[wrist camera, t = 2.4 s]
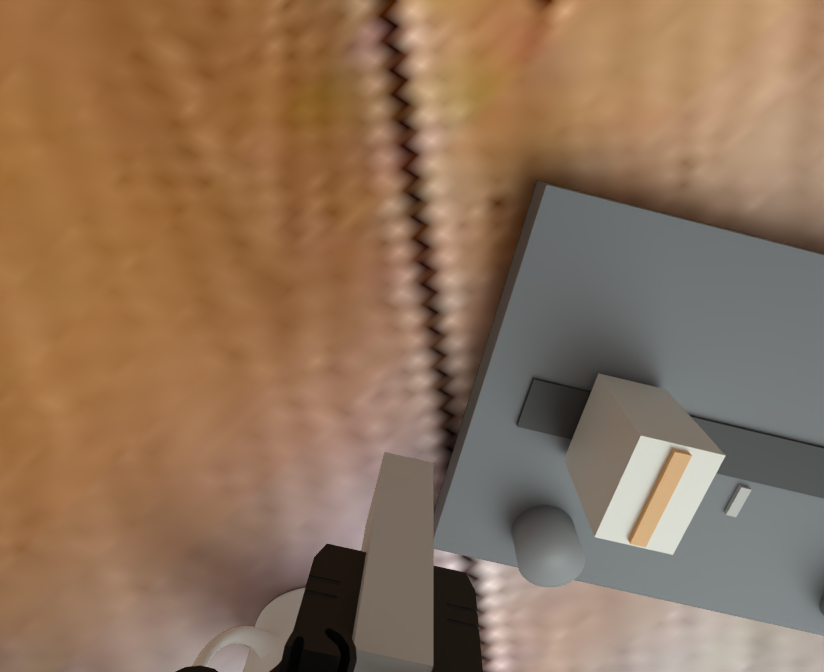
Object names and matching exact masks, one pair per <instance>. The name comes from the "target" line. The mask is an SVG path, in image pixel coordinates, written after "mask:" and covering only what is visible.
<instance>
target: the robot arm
mask: <svg viewBox="0 0 824 672" xmlns="http://www.w3.org/2000/svg"><path fill="white" fill-rule="evenodd" d="M433 523H434V463H431V462H426V461H422V460H417V459H413V458H409V457H404V456H400V455H395V454H391V453H387V452H385V453H384V456H383V460H382V464H381V468H380V472H379V476H378V480H377V484H376V488H375V491H374V495H373V499H372V503H371V507H370V511H369V515H368V519H367V523H366V527H365V533H364V538H363V544H362V550H361V551H358V550H353V549H349V548H344V547H340V546H335V545H331V544H326V545H325V546H324V547H323V549H322V550H321V551H320V552H319V553H318V554H317V555H316V556H315V557H314V560H313V564H312V567H311V571H310V574H309V578H308V581H307V584H306V588H305V592H304V595H303V598H302V602H301V605H300V609H299V612H298V615H297V619H296V622H295V626H294V629H293V632H292V633H291V635H290V636H289V638H288V640H287V642H286V644H285V646H284V651H283V656H282V660H281V661H280V663H279V664H278V665H277V666H276V667H274V668H273V669H272V670H271V671H269V672H483V669H482V658H481V648H480V637H479V629H478V615H477V605H476V594H475V590H474V588H473V586H472V584H471V582H470V580H469V578H468V576H467V574H466V573H464V572H460V571H455V570H451V569H446V568H442V567H437V566H433ZM176 672H218V671H216V670H215V669H213V668H209V667H205V666H201V665H200V666H192V667H185V668H182V669H180V670H178V671H176Z"/></svg>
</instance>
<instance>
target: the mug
mask: <svg viewBox="0 0 824 672" xmlns="http://www.w3.org/2000/svg"><path fill="white" fill-rule="evenodd" d="M304 592H305V588H300V589H296V590H293V591H290V592H287V593H285V594H283V595H281V596H279V597H277V598H276V599H274V600H273V601H271V602H270V603H269V604H268V605H267V606H266V607H265V608H264V609H263V611H262V612H261V614H260V615H259V617H258V619H257V621H256V624H255V627H254V626H238V627H234V628H231V629H229V630H226V631H224V632H223V633H221V634H219V635H218V636H216V637H215V638H214V639H213V640H211V641H210V642H209V643H208V644H207V645H206V646H205V648H204V649H203V650H202V651H201V653H200V654H199V655H198V657H197V658H196V660H195V662H194V664H193V665H192V666H200V665H201V666H205V667H207V665H208V663H209V662H210V660H211V658H212V657H213V656H214V655H215V653H216V652H217V651H218V650H220V649H221V648H222V647H224V646H226V645H229V644H243V645H246V646H249V647H250V648H251V649H250V652H249V655H248V658H247V661H246V664H245V667H244V670H243V672H269V671H271V670H272V669H273V668H274V667H276V666H277V665H278V664H279V663H280V661H281V660H282V656H283V651H284V646H285V644H286V642H287V640H288V638H289V636H290V635H291V633H292V632H293V629H294V626H295V622H296V619H297V615H298V612H299V609H300V605H301V602H302V598H303V595H304Z"/></svg>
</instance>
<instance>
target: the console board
mask: <svg viewBox="0 0 824 672" xmlns="http://www.w3.org/2000/svg"><path fill="white" fill-rule="evenodd" d="M598 373H600V374H604V375H608V376H612V377H616V378H620V379H625V380H629V381H633V382H637V383H641V384H645V385H650V386H654V387H658V388H662V389H666V390H667V391H668V392H669V393H670V394H671V395H672V397H673V398H674V399H675V400H676V401H677V402H678V403H679V404H680V405H681V407H682V408H683V409H684V410H685V411H686V412H687V413H688V414H689V415H690V417H691V418H692V419H693V420H694V421H695V422H696V423H697V424H698V425H699V426H700V428H701V429H702V430H703V431H704V432H705V433H706V434H707V435H708V436H709V438H710V439H711V440H712V441H713V442H714V443H715V444H716V445H717V446H718V448H719V449H720V450H721V451H722V452H723V453H724V454H725V455H726V456H725V458H724V460H723V462H722V463H721V465H720V467H719V469H718V471H717V473H716V475H715V477H714V478H713V480H712V482H711V484H710V486H709V488H708V490H707V492H706V494H705V495H704V497H703V499H702V501H701V503H700V505H699V507H698V509H697V510H696V512H695V514H694V516H693V518H692V520H691V522H690V524H689V526H688V527H687V529H686V531H685V533H684V535H683V537H682V539H681V541H680V542H679V544H678V546H677V548H676V550H675V552H674V554H673V555H671V554H667V553H662V552H658V551H653V550H649V549H645V548H640V547H636V546H631V545H627V544H623V543H618V542H614V541H609V540H605V539H601V538H596V537H594V535H593V532H592V529H591V527H590V524H589V522H588V519H587V517H586V514H585V512H584V509H583V506H582V504H581V501H580V499H579V496H578V494H577V491H576V489H575V486H574V483H573V481H572V478H571V476H570V473H569V471H568V468H567V466H566V463H565V460H564V458H565V455H566V453H567V450H568V448H569V445H570V443H571V440H572V438H573V435H574V433H575V430H576V428H577V426H578V423H579V421H580V418H581V416H582V413H583V411H584V408H585V406H586V403H587V401H588V398H589V396H590V393H591V391H592V388H593V386H594V383H595V381H596V378H597V376H598ZM433 549H437V550H442V551H446V552H451V553H455V554H460V555H464V556H469V557H473V558H478V559H482V560H487V561H491V562H496V563H500V564H505V565H509V566H514V567H518V568H519V571H520V573H521V574H522V576H523V577H524V578H525V579H526V580H528V581H529V582H531V583H533V584H535V585H538V586H542V587H558V586H562V585H565V584H567V583H569V582H571V581H573V580H576V581H581V582H585V583H590V584H594V585H599V586H603V587H608V588H612V589H617V590H621V591H626V592H630V593H635V594H639V595H644V596H648V597H653V598H657V599H662V600H666V601H671V602H675V603H680V604H684V605H689V606H693V607H698V608H702V609H706V610H711V611H715V612H720V613H724V614H729V615H733V616H738V617H742V618H747V619H751V620H756V621H760V622H765V623H769V624H774V625H778V626H783V627H787V628H792V629H796V630H801V631H805V632H810V633H814V634H819V635H823V636H824V253H820V252H816V251H812V250H808V249H804V248H800V247H796V246H793V245H789V244H785V243H781V242H777V241H773V240H769V239H765V238H761V237H757V236H753V235H749V234H745V233H741V232H738V231H734V230H730V229H726V228H722V227H718V226H714V225H710V224H706V223H702V222H698V221H694V220H690V219H686V218H682V217H679V216H675V215H671V214H667V213H663V212H659V211H655V210H651V209H647V208H643V207H639V206H635V205H631V204H627V203H624V202H620V201H616V200H612V199H608V198H604V197H600V196H596V195H592V194H588V193H584V192H580V191H576V190H572V189H568V188H565V187H561V186H557V185H553V184H549V183H545V182H541V181H537V183H536V186H535V190H534V193H533V196H532V199H531V202H530V206H529V209H528V212H527V215H526V218H525V222H524V225H523V228H522V231H521V234H520V238H519V241H518V244H517V247H516V251H515V254H514V257H513V260H512V263H511V267H510V270H509V273H508V276H507V279H506V283H505V286H504V289H503V292H502V295H501V299H500V302H499V305H498V308H497V311H496V315H495V318H494V321H493V324H492V327H491V331H490V334H489V337H488V340H487V343H486V347H485V350H484V353H483V356H482V359H481V363H480V366H479V369H478V372H477V375H476V379H475V382H474V385H473V388H472V392H471V395H470V398H469V401H468V404H467V408H466V411H465V414H464V417H463V420H462V424H461V427H460V430H459V433H458V436H457V440H456V443H455V446H454V449H453V452H452V456H451V459H450V462H449V465H448V468H447V472H446V475H445V478H444V481H443V484H442V488H441V491H440V494H439V497H438V500H437V504H436V507H435V510H434V523H433Z"/></svg>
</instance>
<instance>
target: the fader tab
mask: <svg viewBox="0 0 824 672" xmlns="http://www.w3.org/2000/svg"><path fill="white" fill-rule="evenodd" d="M725 456H726V455H725V454H724V453H723V452H722V451H721V450H720V449H719V448H718V446H717V445H716V444H715V443H714V442H713V441H712V440H711V439H710V438H709V436H708V435H707V434H706V433H705V432H704V431H703V430H702V429H701V428H700V426H699V425H698V424H697V423H696V422H695V421H694V420H693V419H692V418H691V417H690V415H689V414H688V413H687V412H686V411H685V410H684V409H683V408H682V407H681V405H680V404H679V403H678V402H677V401H676V400H675V399H674V398H673V397H672V395H671V394H670V393H669V392H668V391H667V390H666V389H662V388H658V387H654V386H650V385H645V384H641V383H637V382H633V381H629V380H625V379H620V378H616V377H612V376H608V375H604V374H600V373H598V376H597V378H596V381H595V383H594V386H593V388H592V391H591V393H590V396H589V398H588V401H587V403H586V406H585V408H584V411H583V413H582V416H581V418H580V421H579V423H578V426H577V428H576V430H575V433H574V435H573V438H572V440H571V443H570V445H569V448H568V450H567V453H566V455H565V458H564V460H565V463H566V466H567V468H568V471H569V473H570V476H571V478H572V481H573V483H574V486H575V489H576V491H577V494H578V496H579V499H580V501H581V504H582V506H583V509H584V512H585V514H586V517H587V519H588V522H589V524H590V527H591V529H592V532H593V535H594V537H596V538H601V539H605V540H609V541H614V542H618V543H623V544H627V545H631V546H636V547H640V548H645V549H649V550H653V551H658V552H662V553H667V554H671V555H673V554H674V552H675V550H676V548H677V546H678V544H679V542H680V541H681V539H682V537H683V535H684V533H685V531H686V529H687V527H688V526H689V524H690V522H691V520H692V518H693V516H694V514H695V512H696V510H697V509H698V507H699V505H700V503H701V501H702V499H703V497H704V495H705V494H706V492H707V490H708V488H709V486H710V484H711V482H712V480H713V478H714V477H715V475H716V473H717V471H718V469H719V467H720V465H721V463H722V462H723V460H724V458H725Z"/></svg>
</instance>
